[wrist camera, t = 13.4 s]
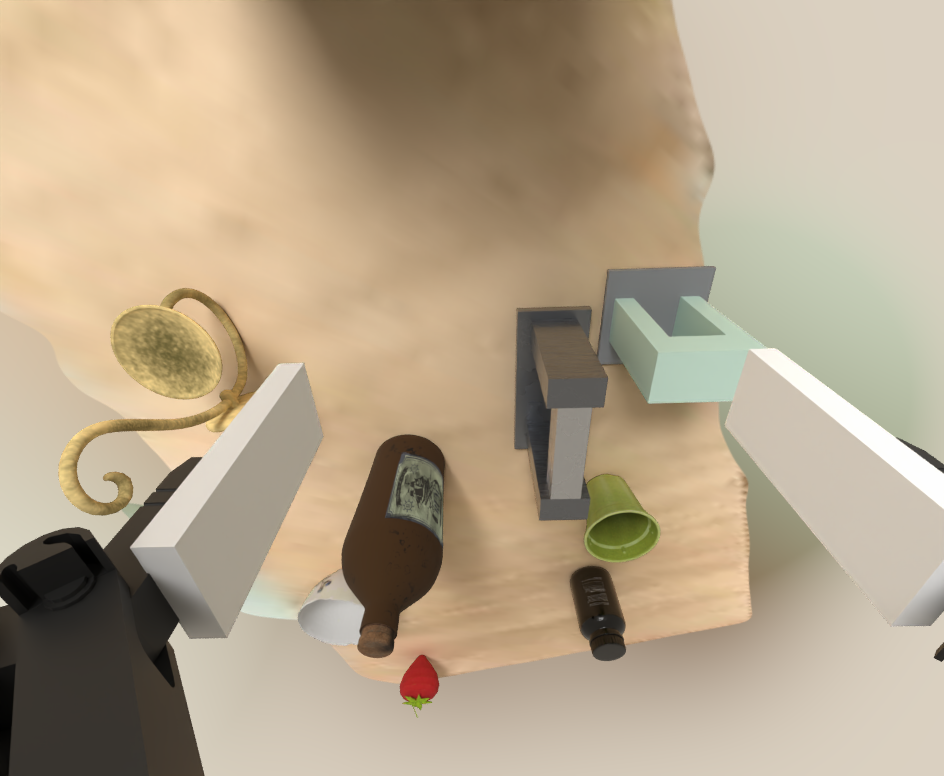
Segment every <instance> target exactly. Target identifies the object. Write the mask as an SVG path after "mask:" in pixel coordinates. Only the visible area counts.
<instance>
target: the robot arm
mask: <svg viewBox="0 0 944 776" xmlns="http://www.w3.org/2000/svg"><path fill="white" fill-rule="evenodd" d="M725 427H726V428H727V429H728V430H729V432H730V433H731V434H732V435H733V436H734V438H735V439H736V440H737V441H738V443H739V444H740V445H741V446H742V447H743V448H744V450H745V451H746V452H747V453H748V455H749V456H750V457H751V458H752V459H753V461H754V462H755V463H756V464H757V465H758V467H759V468H760V469H761V470H762V471H763V473H764V474H765V475H766V476H767V478H768V479H769V480H770V481H771V482H772V484H773V485H774V486H775V487H776V488H777V490H778V491H779V492H780V493H781V494H782V496H783V497H784V498H785V499H786V501H787V502H788V503H789V504H790V505H791V506H792V508H793V509H794V510H795V511H796V513H797V514H798V515H799V516H800V517H801V519H802V520H803V521H804V522H805V523H806V525H807V526H808V527H809V528H810V529H811V531H812V532H813V533H814V534H815V536H816V537H817V538H818V539H819V540H820V542H821V543H822V544H823V545H824V546H825V548H826V549H827V550H828V551H829V552H830V554H831V555H832V556H833V557H834V558H835V560H836V561H837V562H838V563H839V565H840V566H841V567H842V568H843V569H844V571H845V572H846V573H847V574H848V575H849V577H850V578H851V579H852V580H853V581H854V583H855V584H856V585H857V586H858V587H859V589H860V590H861V591H862V592H863V594H864V595H865V596H866V597H867V598H868V600H869V601H870V602H871V603H872V604H873V606H874V607H875V608H876V609H877V610H878V612H879V613H880V614H881V615H882V616H883V618H884V619H885V620H886V621H887V623H888V624H889V625H890V626H931V625H932V624H933V623H934V621H935V620H936V619H937V618H938V617H939V616H940V615H941V613H942V612H943V611H944V464H942V463H941V462H940V461H938V460H937V459H935V458H934V457H933V456H931V455H930V454H928V453H927V452H926V451H924V450H922V449H920V448H918V447H916V446H913V445H912V444H909V443H908V442H906V441H903V440H901V439H899V438H896V437H894V436H892V435H891V434H890V433H888V432H887V431H886V430H884V429H883V428H882V427H880V426H879V425H878V424H876V423H875V422H874V421H872V420H871V419H870V418H868V417H867V416H866V415H864V414H863V413H862V412H860V411H859V410H858V409H856V408H855V407H854V406H852V405H851V404H849V403H848V402H847V401H846V400H844V399H843V398H841V397H840V396H839V395H838V394H836V393H835V392H833V391H832V390H831V389H829V388H828V387H827V386H826V385H824V384H823V383H821V382H820V381H819V380H817V379H816V378H815V377H813V376H812V375H811V374H809V373H808V372H807V371H805V370H804V369H803V368H801V367H800V366H799V365H797V364H796V363H795V362H793V361H792V360H791V359H789V358H788V357H787V356H785V355H784V354H783V353H781V352H780V351H778V350H777V349H776V348H768V349H749V351H748V354H747V357H746V360H745V363H744V366H743V370H742V373H741V376H740V379H739V382H738V385H737V388H736V391H735V394H734V398H733V401H732V404H731V407H730V410H729V413H728V416H727V419H726V422H725ZM323 437H324V436H323V433H322V429H321V425H320V421H319V418H318V414H317V410H316V406H315V403H314V399H313V395H312V391H311V387H310V384H309V380H308V376H307V372H306V369H305V365H304V363H284V364H278V365H277V366H276V368H275V369H274V370H273V371H272V372H271V374H270V375H269V376H268V377H267V379H266V380H265V381H264V382H263V384H262V385H261V386H260V387H259V389H258V390H257V391H256V392H255V393H254V395H253V396H252V397H251V398H250V400H249V401H248V402H247V403H246V405H245V406H244V407H243V408H242V410H241V411H240V412H239V413H238V415H237V416H236V417H235V418H234V419H233V421H232V422H231V423H230V424H229V426H228V427H227V428H226V429H225V431H224V432H223V433H222V434H221V436H220V437H219V438H218V439H217V440H216V442H215V443H214V444H213V445H212V447H211V448H210V449H209V450H208V452H207V453H206V454H205V455H204V457H191V458H190V459H188V460H187V461H186V462H184V463H183V464H181V465H180V466H179V467H177V468H176V469H174V470H173V471H171V472H170V473H169V474H168V476H167V477H166V478H165V479H164V480H163V481H162V483H161V484H160V485H159V486H158V487H157V488H156V492H153V493H152V494H151V495H150V496H149V498H148V499H147V500H146V501H145V502H144V506H143V507H140V508H139V509H138V510H137V511H136V512H135V514H134V515H133V516H132V517H131V518H130V519H129V521H128V522H127V523H126V524H125V525H124V526H123V527H122V529H121V530H120V531H119V532H118V533H117V535H116V536H115V537H114V538H113V539H112V540H111V541H110V543H109V544H108V545H107V546H106V547H105V548H104V549H102V547H101V546H100V544H99V543H98V542H97V540H96V539H95V538H94V536H93V535H92V533H91V532H90V530H87V529H83V528H80V527H75V528H66V529H61V530H58V531H54V532H51V533H48V534H46V535H43V536H41V537H39V538H37V539H35V540H33V541H31V542H29V543H27V544H25V545H24V546H22V547H21V548H20V549H18V550H17V551H15V552H14V553H13V554H11V555H10V556H8V557H7V558H6V559H5V560H4V561H3V562H2V563H1V564H0V597H1V598H2V599H3V600H4V601H5V602H6V603H7V604H8V605H6V606H3V607H0V776H204V771H203V767H202V763H201V759H200V756H199V751H198V747H197V743H196V739H195V735H194V731H193V727H192V723H191V719H190V714H189V711H188V707H187V702H186V698H185V694H184V690H183V686H182V682H181V678H180V674H179V670H178V666H177V661H176V658H175V654H174V649H173V648H172V646H171V645H170V643H169V642H168V639H169V637H170V635H171V634H172V632H173V631H174V629H175V627H176V626H177V624H178V622H179V623H180V624H181V626H182V627H183V629H184V631H185V632H186V634H187V635H188V637H189V638H191V639H193V638H227V637H228V635H229V633H230V631H231V629H232V626H233V625H234V622H235V620H236V618H237V616H238V614H239V612H240V610H241V608H242V606H243V604H244V602H245V600H246V598H247V595H248V593H249V591H250V589H251V587H252V585H253V583H254V581H255V579H256V577H257V575H258V572H259V570H260V568H261V566H262V564H263V562H264V560H265V558H266V556H267V554H268V552H269V549H270V547H271V545H272V543H273V541H274V539H275V537H276V535H277V533H278V531H279V529H280V526H281V524H282V522H283V520H284V518H285V516H286V514H287V512H288V510H289V508H290V506H291V503H292V501H293V499H294V497H295V495H296V493H297V491H298V489H299V487H300V485H301V483H302V480H303V478H304V476H305V474H306V472H307V470H308V468H309V466H310V464H311V462H312V460H313V457H314V455H315V453H316V451H317V449H318V447H319V445H320V443H321V441H322V439H323ZM934 658H935V659H937V660H939V661H941V662H942V661H943V660H944V643H943V644H942V645H941V646H940V647H939V648H938V649H937V650H936V653H935V656H934Z"/></svg>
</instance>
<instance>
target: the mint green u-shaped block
mask: <svg viewBox="0 0 944 776" xmlns="http://www.w3.org/2000/svg"><path fill="white" fill-rule="evenodd" d="M609 342H610V343H611V345H612V347H613V348H614V350H615V351H616V353H617V355H618V356H619V358H620V359H621V361H622V363H623V364H624V366H625V367H626V369H627V371H628V372H629V374H630V375H631V377H632V379H633V380H634V382H635V384H636V385H637V387H638V388H639V390H640V392H641V393H642V395H643V396H644V398H645V400H646V401H647V403H648V404H649V403H686V402H723V401H733V398H734V394H735V391H736V388H737V385H738V382H739V379H740V376H741V373H742V370H743V366H744V363H745V360H746V357H747V354H748V351H749V349H768V348H767V347H765V346H764V345H763V344H761V343H760V342H759V341H757V340H756V339H755V338H754V337H752V336H751V335H750V334H748V333H747V332H746V331H745V330H743V329H742V328H740V327H739V326H738V325H737V324H735V323H734V322H733V321H731V320H730V319H729V318H728V317H726V316H725V315H724V314H722V313H721V312H720V311H718V310H717V309H716V308H714V307H713V306H712V305H711V304H709V303H708V302H707V301H705V300H704V299H703V298H701V297H700V296H682V297H680V301H679V306H678V310H677V315H676V319H675V324H674V329H673V333H672V337H669V336H668V335H667V334H666V333H665V332H664V331H663V330H662V328H661V327H660V326H659V325H658V324H657V323H656V322H655V321H654V320H653V319H652V318H651V316H650V315H649V314H648V313H647V312H646V311H645V310H644V309H643V308H642V307H641V306H640V304H639V303H638V302H637V301H636V300H635V299H634V298H618V299H615V302H614V309H613V316H612V323H611V330H610V337H609Z"/></svg>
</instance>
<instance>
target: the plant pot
mask: <svg viewBox="0 0 944 776" xmlns="http://www.w3.org/2000/svg"><path fill="white" fill-rule="evenodd" d="M586 486H587V489H588V492H589V495H590V498H591V499H590V506H589V512H588V519H586V520H587V526H586V532H585V535H584V544H585V547H586V549H587V551H588V552H589V553H590V554H591V555H592V556H594V557H595V558H597V559H599V560H602V561H606V562H626V561H631V560H634V559H637V558H639V557H641V556H643V555H645V554H647V553H648V552H649V551H651V550H652V549H653V548H654V547H655V545H656V544H657V542H658V541H659V538H660V527H659V524H658V522H657V521H656V520H655V519H654V518H653V517H652V516H651V515H649V514H648V513H647V512H646V511H645V510H644V509H643V508H642V506H641V505H640V503H639V502H638V500H637V499H636V497H635V496H634V494H633V493H632V491H631V490H630V488H629V486H628V485H627V483H626V482H625V481H624V480H623V479H622V478H621V477H619V476H613V475H609V474H603V475H599V476H597V477H595V478H593V479H591V480H590V481H589V482H588V483H587V485H586Z"/></svg>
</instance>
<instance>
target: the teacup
mask: <svg viewBox="0 0 944 776" xmlns="http://www.w3.org/2000/svg"><path fill="white" fill-rule="evenodd" d="M364 611H365V608H364V607H363V605H362V604H361V603H360V601H359V600H358V599H357V598H356V596H355V595H354V594H353V592H352V591H351V590H350V588H349V587H348V585H347V583H346V581H345V579H344V576H343V571H342V569H340V570H338V571H337V572H335V573H333V574H331V575H329V576H327V577H326V578H324V579H323V580H322V581H320V582H319V583H318V584H317V585H316V586H315V587H314V589H313V590H312V591H311V592H310V594H309V595H308V597H307V598H306V600H305V602H304V603H303V605H302V607H301V609H300V611H299V613H298V622H299V624H300V627H301V629H302V630H303V631H304V632H306V633H307V634H308V635H309V636H311V637H313V638H314V639H317V640H319V641H321V642H324V643H328V644H332V645H343V646H347V645H349V644H354V645H358V641H359V638H360V636H361V635H360V633H359V630H360V627H361V622H362V618H363V614H364Z"/></svg>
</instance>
